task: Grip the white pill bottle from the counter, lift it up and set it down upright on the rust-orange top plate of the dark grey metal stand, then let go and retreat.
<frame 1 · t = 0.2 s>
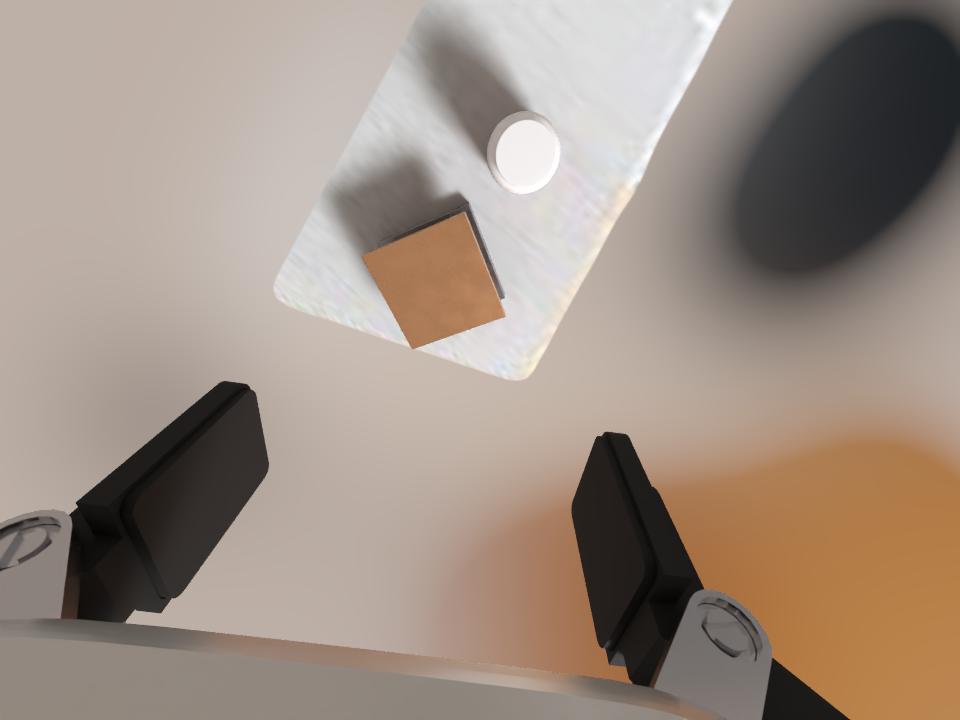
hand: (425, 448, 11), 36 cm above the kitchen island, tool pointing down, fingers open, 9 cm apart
stand: (444, 267, 45), on the kitchen island
pill bottle: (518, 153, 39), on the kitchen island
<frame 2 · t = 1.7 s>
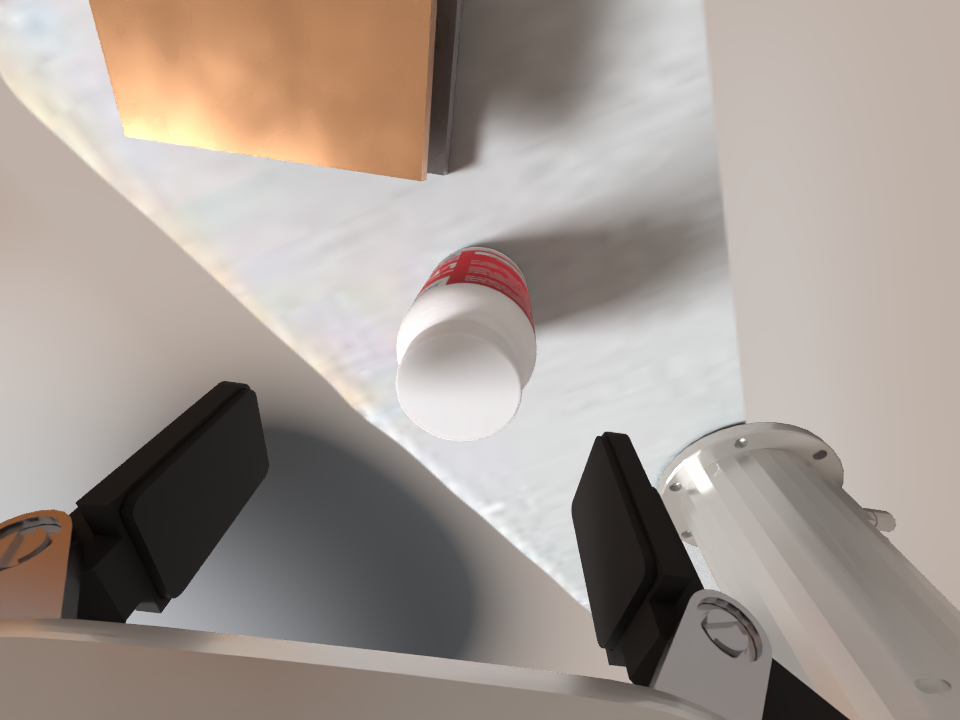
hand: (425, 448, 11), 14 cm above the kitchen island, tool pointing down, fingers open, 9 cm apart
stand: (342, 26, 18), on the kitchen island
pill bottle: (478, 294, 24), on the kitchen island
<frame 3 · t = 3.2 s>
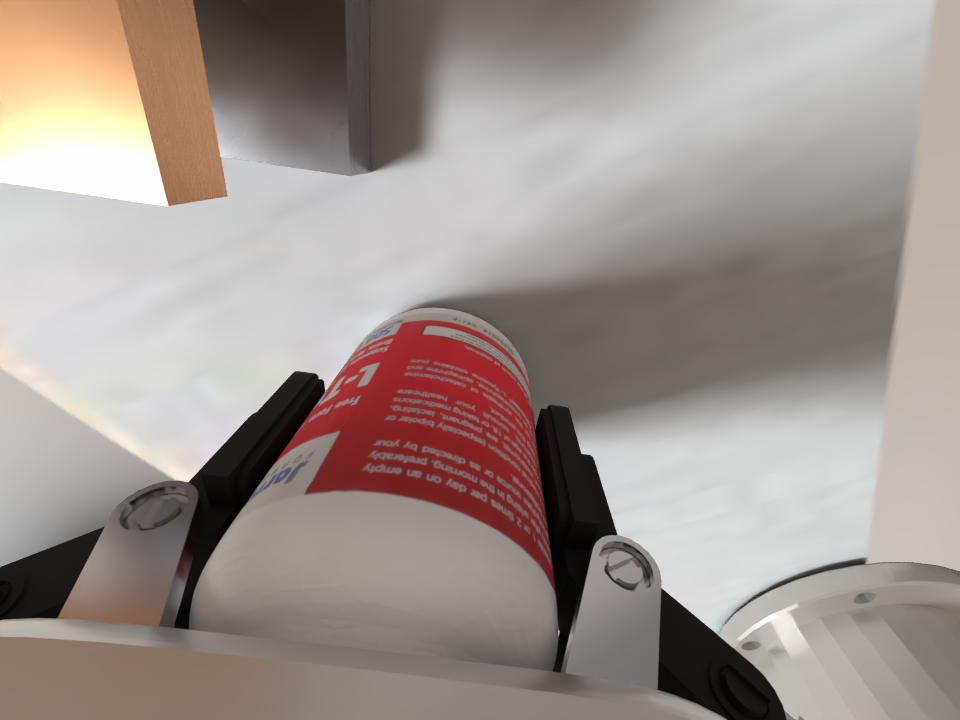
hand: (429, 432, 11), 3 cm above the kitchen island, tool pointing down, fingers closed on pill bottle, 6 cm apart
pill bottle: (442, 381, 14), on the kitchen island, touching gripper
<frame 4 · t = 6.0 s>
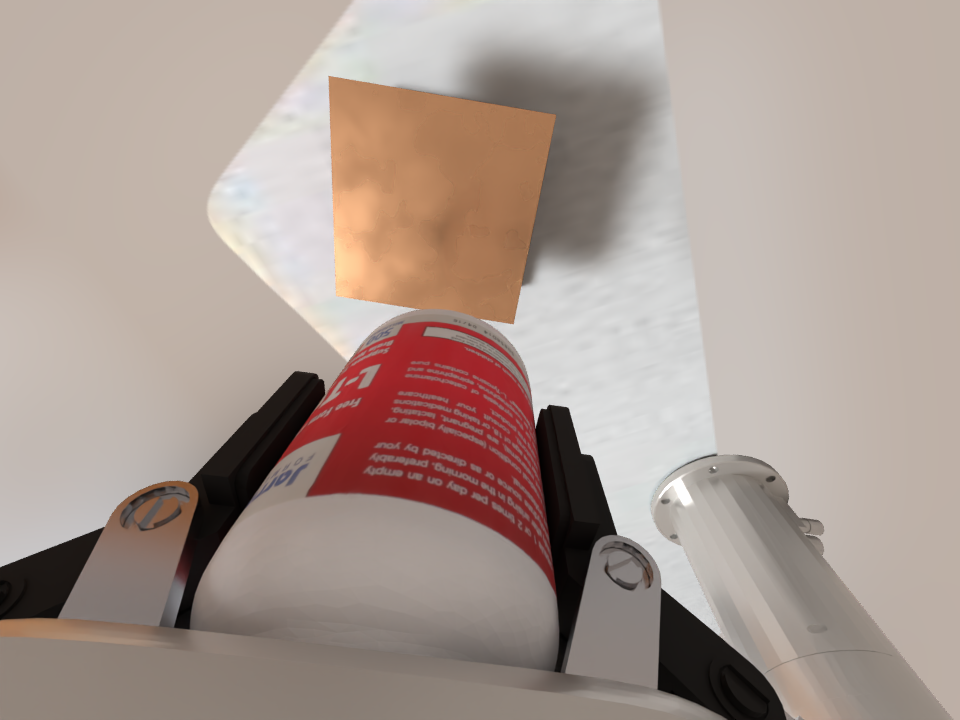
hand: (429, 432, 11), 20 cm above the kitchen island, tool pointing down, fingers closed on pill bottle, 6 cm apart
stand: (449, 202, 27), on the kitchen island
pill bottle: (442, 382, 14), point 17 cm above the kitchen island, touching gripper
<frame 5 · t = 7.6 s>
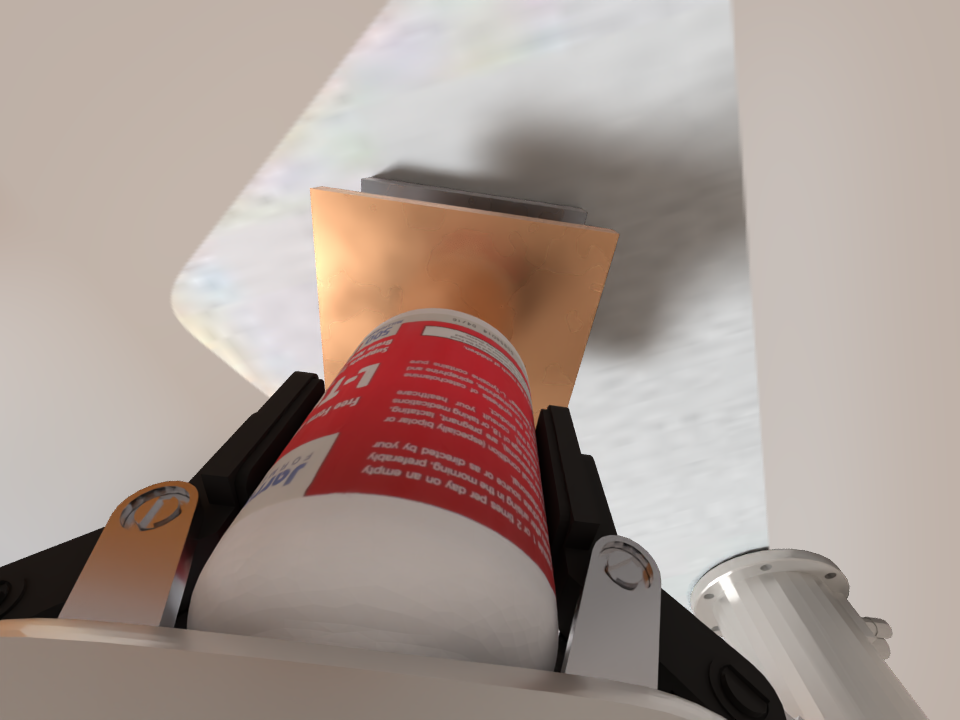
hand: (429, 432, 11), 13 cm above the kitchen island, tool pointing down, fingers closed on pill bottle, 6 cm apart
stand: (464, 293, 22), on the kitchen island
pill bottle: (442, 381, 14), point 10 cm above the kitchen island, touching gripper
when the fingers open (11 cm above the kitchen island, at t = 8.8 s): pill bottle drops 1 cm, resting on stand.
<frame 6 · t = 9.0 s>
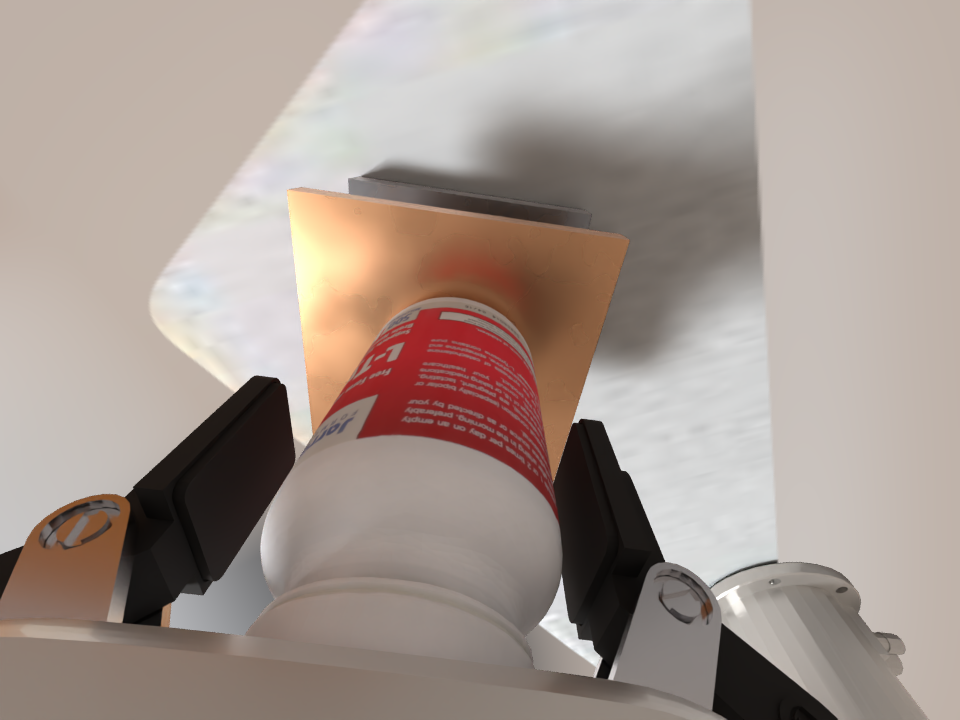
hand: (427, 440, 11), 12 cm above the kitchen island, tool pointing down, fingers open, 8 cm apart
stand: (461, 300, 21), on the kitchen island
pill bottle: (453, 365, 15), point 7 cm above the kitchen island, touching stand
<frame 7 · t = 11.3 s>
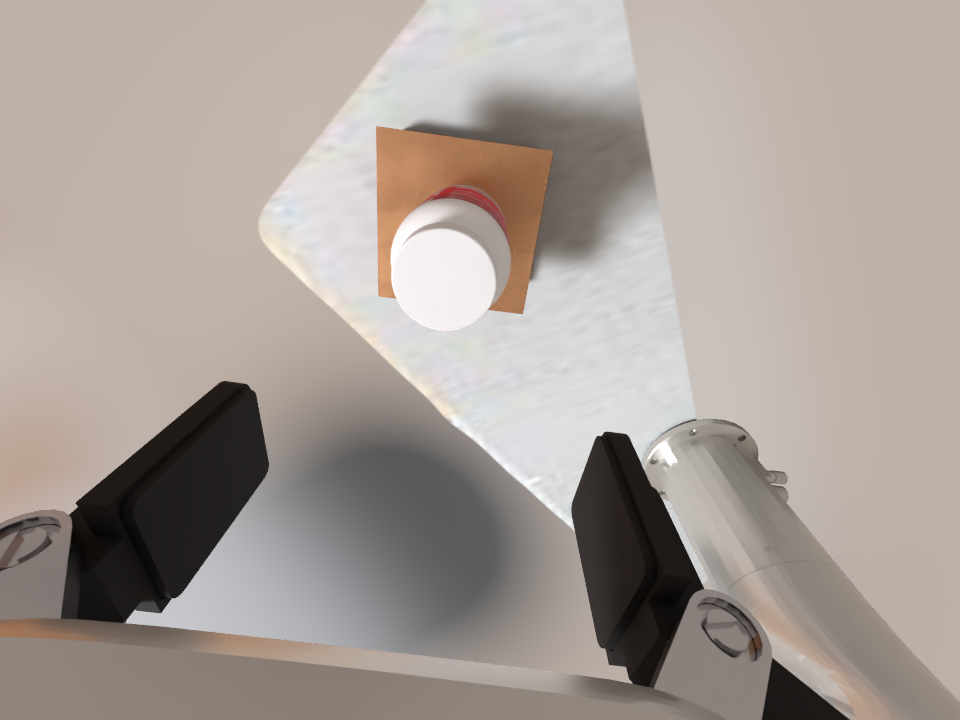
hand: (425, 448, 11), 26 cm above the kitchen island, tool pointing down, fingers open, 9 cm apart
stand: (464, 214, 32), on the kitchen island
pill bottle: (462, 232, 26), point 7 cm above the kitchen island, touching stand
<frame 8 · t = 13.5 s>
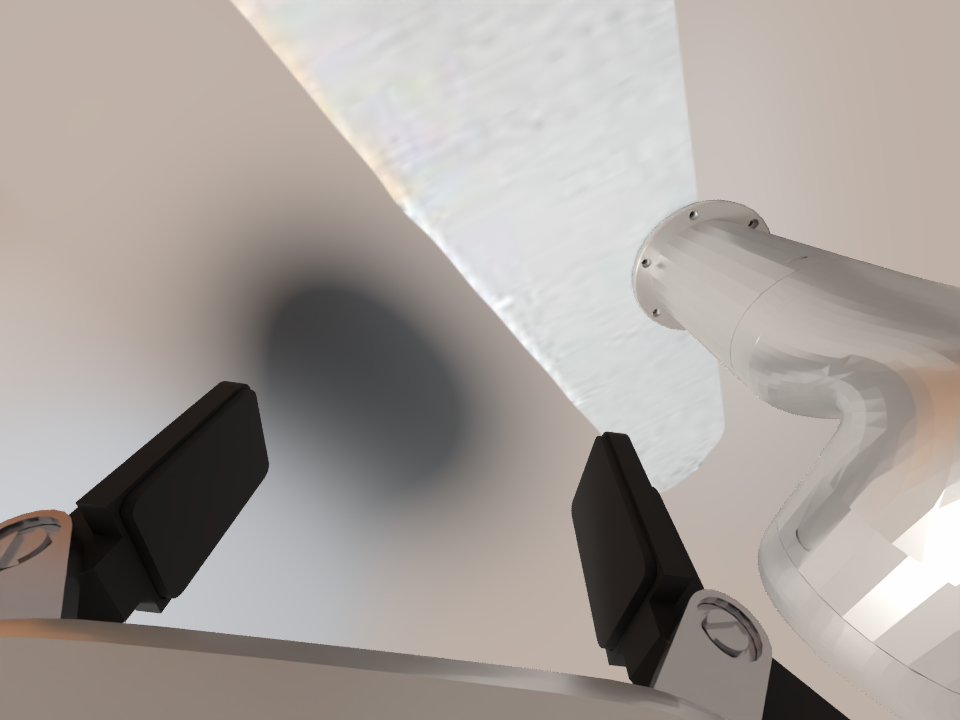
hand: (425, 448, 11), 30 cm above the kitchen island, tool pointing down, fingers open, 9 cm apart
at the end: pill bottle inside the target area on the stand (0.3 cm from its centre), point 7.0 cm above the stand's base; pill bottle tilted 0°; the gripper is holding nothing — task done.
